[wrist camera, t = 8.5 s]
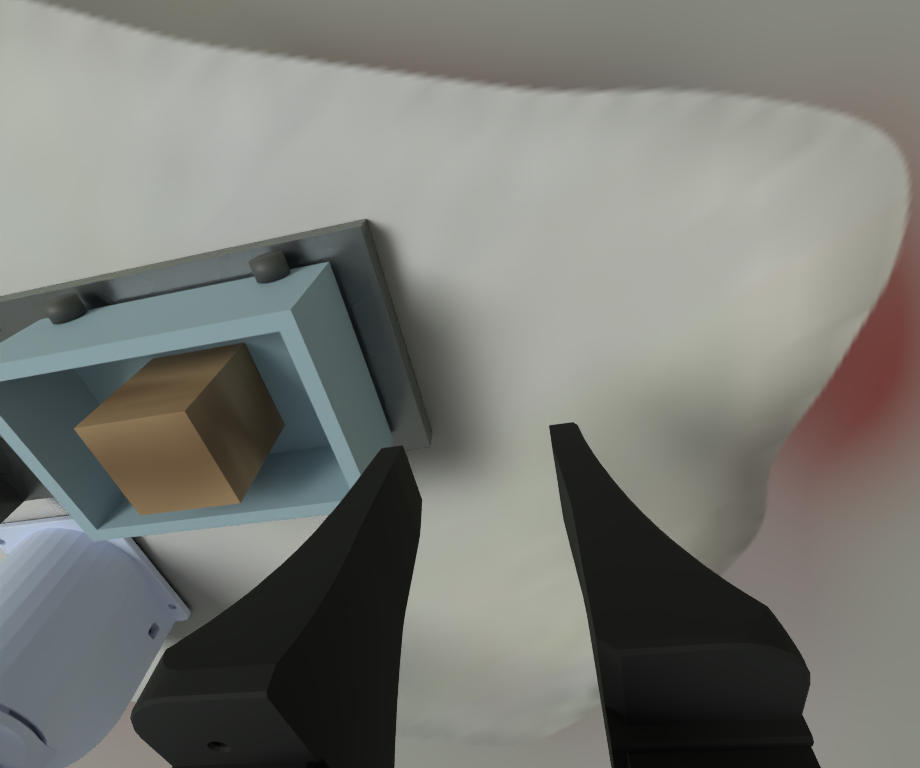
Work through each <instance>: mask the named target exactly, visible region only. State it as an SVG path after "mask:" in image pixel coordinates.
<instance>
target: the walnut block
mask: <svg viewBox="0 0 920 768" xmlns="http://www.w3.org/2000/svg"><path fill="white" fill-rule="evenodd" d="M284 426H285V424H284V422H283V420H282V418H281V416H280V414H279V411H278V409H277V407H276V405H275V403H274V401H273V399H272V397H271V395H270V393H269V391H268V389H267V387H266V385H265V383H264V381H263V379H262V377H261V375H260V373H259V371H258V369H257V367H256V365H255V363H254V361H253V359H252V357H251V354H250V352H249V350H248V348H247V346H246V344H245V342H244V343H239V344H233V345H227V346H222V347H216V348H210V349H205V350H199V351H193V352H188V353H182V354H176V355H171V356H165V357H159V358H154V359H152V360H150V361H149V362H148V363H147V364H146V365H145V366H144V367H143V368H141V369H140V370H139V371H138V372H137V373H136V374H135V375H133V376H132V377H131V378H130V379H129V380H128V381H127V382H126V383H124V384H123V385H122V386H121V387H120V388H119V389H118V390H117V391H115V392H114V393H113V394H112V395H111V396H110V397H109V398H107V399H106V400H105V401H104V402H103V403H102V404H101V405H100V406H98V407H97V408H96V409H95V410H94V411H93V412H92V413H91V414H89V415H88V416H87V417H86V418H85V419H84V420H83V421H81V422H80V423H79V424H78V425H77V426H76V427H75V428H74V430H75V431H76V432H77V434H78V435H79V436H80V438H81V439H82V440H83V441H84V443H85V444H86V445H87V447H88V448H89V449H90V451H91V452H92V453H93V455H94V456H95V457H96V458H97V460H98V461H99V462H100V464H101V465H102V466H103V468H104V469H105V470H106V472H107V473H108V474H109V475H110V477H111V478H112V479H113V481H114V482H115V483H116V485H117V486H118V487H119V489H120V490H121V491H122V492H123V494H124V495H125V496H126V498H127V499H128V500H129V502H130V503H131V504H132V506H133V507H134V508H135V509H136V511H137V512H138V513H139V515H148V514H157V513H165V512H173V511H181V510H190V509H198V508H206V507H214V506H223V505H231V504H239V503H241V502H242V500H243V498H244V497H245V495H246V493H247V491H248V490H249V488H250V486H251V484H252V482H253V481H254V479H255V477H256V475H257V474H258V472H259V470H260V468H261V467H262V465H263V463H264V461H265V460H266V458H267V456H268V454H269V453H270V451H271V449H272V447H273V446H274V444H275V442H276V440H277V439H278V437H279V435H280V433H281V431H282V430H283V428H284Z"/></svg>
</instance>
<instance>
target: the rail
mask: <svg viewBox="0 0 920 768" xmlns="http://www.w3.org/2000/svg"><path fill="white" fill-rule="evenodd" d="M272 251H282V252H283V254H284V257H285V259H286V262H287V264H288V266H289V269H295V268H300V267H305V266H310V265H315V264H320V263H325V262H329V263H330V265H331V268H332V271H333V274H334V276H335V279H336V282H337V285H338V287H339V290H340V293H341V296H342V299H343V301H344V304H345V307H346V310H347V312H348V315H349V318H350V321H351V323H352V326H353V329H354V332H355V335H356V337H357V340H358V343H359V346H360V348H361V351H362V354H363V357H364V359H365V362H366V365H367V368H368V371H369V373H370V376H371V379H372V382H373V384H374V387H375V390H376V393H377V396H378V398H379V401H380V404H381V407H382V409H383V412H384V415H385V418H386V420H387V423H388V426H389V429H390V432H391V434H392V437H393V443H392V447H394V446H401V445H403V447H404V450H410V449H418V448H425V447H430V444H431V438H432V431H431V427H430V424H429V421H428V418H427V414H426V411H425V408H424V405H423V401H422V398H421V395H420V392H419V388H418V385H417V382H416V379H415V375H414V372H413V369H412V366H411V362H410V359H409V356H408V353H407V349H406V346H405V343H404V340H403V336H402V333H401V330H400V327H399V323H398V320H397V317H396V314H395V310H394V307H393V304H392V301H391V297H390V294H389V291H388V288H387V284H386V281H385V278H384V275H383V271H382V268H381V265H380V262H379V258H378V255H377V252H376V249H375V245H374V242H373V239H372V236H371V232H370V229H369V226H368V223H367V219H363V220H358V221H354V222H349V223H344V224H339V225H335V226H330V227H325V228H321V229H316V230H311V231H306V232H302V233H297V234H292V235H288V236H283V237H278V238H273V239H269V240H264V241H259V242H255V243H250V244H245V245H240V246H236V247H231V248H226V249H222V250H217V251H212V252H208V253H203V254H198V255H193V256H189V257H184V258H179V259H175V260H170V261H165V262H160V263H156V264H151V265H146V266H142V267H137V268H132V269H127V270H123V271H118V272H113V273H109V274H104V275H99V276H94V277H90V278H85V279H80V280H76V281H71V282H66V283H61V284H57V285H52V286H47V287H43V288H38V289H33V290H28V291H24V292H19V293H14V294H10V295H5V296H0V343H1V342H2V341H4V340H6V339H8V338H9V337H11V336H13V335H15V334H16V333H18V332H20V331H21V330H23V329H25V328H27V327H28V326H30V325H32V324H33V323H35V322H37V321H39V320H40V319H45V318H48V316H47V315H46V313H45V312H44V311H43V309H42V308H41V305H42V304H43V303H45V302H47V301H49V300H51V299H54V298H57V297H59V296H62V295H66V294H70V293H76V294H77V295H78V297H79V298H80V300H81V301H82V303H83V304H84V306H85V307H86V309H87V310H90V309H95V308H100V307H105V306H110V305H115V304H120V303H125V302H130V301H135V300H140V299H145V298H150V297H155V296H160V295H165V294H170V293H175V292H180V291H185V290H190V289H195V288H200V287H205V286H210V285H215V284H220V283H225V282H230V281H235V280H240V279H245V278H250V277H254V275H253V272H252V270H251V268H250V266H249V263H248V262H249V260H251V259H252V258H254V257H256V256H259V255H261V254H264V253H268V252H272ZM50 497H54V496H53V495H52V494H51V493H50V492H49V490H48V489H47V488H46V487H45V486H44V485H43V484H42V482H41V481H40V480H39V479H38V478H37V477H36V475H35V474H34V473H33V472H32V471H31V470H30V469H29V467H28V466H27V465H26V464H25V463H24V462H23V460H22V459H21V458H20V457H19V456H18V455H17V454H16V452H15V451H14V450H13V449H12V448H11V447H10V446H9V444H8V443H7V442H6V441H5V440H4V439H3V437H2V436H1V435H0V524H1V523H2V522H3V521H4V520H5V519H6V518H7V517H8V516H9V515H10V514H11V513H12V512H13V511H14V510H15V509H16V508H17V507H19V506H20V505H21V504H22V503H23V502H24V501H27V500H35V499H42V498H50Z"/></svg>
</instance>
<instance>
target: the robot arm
mask: <svg viewBox="0 0 920 768" xmlns="http://www.w3.org/2000/svg"><path fill="white" fill-rule="evenodd" d="M549 428H550V435H551V442H552V448H553V455H554V461H555V468H556V474H557V481H558V487H559V493H560V500H561V506H562V513H563V519H564V523H565V527H566V531H567V535H568V539H569V543H570V547H571V551H572V555H573V559H574V563H575V566H576V570H577V574H578V578H579V582H580V586H581V590H582V594H583V598H584V603H585V607H586V612H587V618H588V624H589V630H590V636H591V642H592V649H593V655H594V661H595V667H596V673H597V680H598V686H599V692H600V698H601V705H602V711H603V717H604V723H605V729H606V736H607V742H608V748H609V754H610V761H611V767H612V768H821V767H820V765H819V763H818V761H817V759H816V756H815V754H814V752H813V750H812V748H811V746H813V743H814V741H813V737H812V734H811V732H810V730H809V728H808V726H807V724H806V721H805V719H804V717H803V715H802V713H803V709H804V706H805V701H806V698H807V694H808V691H809V686H810V672H809V670H808V668H807V666H806V664H805V661H804V659H803V657H802V655H801V654H800V652H799V650H798V649H797V647H796V645H795V644H794V642H793V641H792V639H791V638H790V636H789V635H788V633H787V632H786V630H785V629H784V628H783V626H782V625H781V623H780V622H779V621H778V619H777V618H776V617H775V615H774V614H773V613H772V611H771V610H770V609H769V608H768V607H767V606H766V605H764V604H762V603H761V602H759V601H758V600H756V599H754V598H753V597H751V596H749V595H748V594H746V593H744V592H743V591H741V590H740V589H738V588H736V587H735V586H733V585H732V584H730V583H729V582H727V581H726V580H724V579H723V578H722V577H720V576H719V575H717V574H716V573H714V572H713V571H712V570H710V569H709V568H707V567H706V566H705V565H703V564H702V563H701V562H699V561H698V560H697V559H696V558H694V557H693V556H692V555H690V554H689V553H688V552H687V551H685V550H684V549H683V548H682V547H680V546H679V545H678V544H677V543H675V542H674V541H673V540H672V539H670V538H669V537H668V536H667V535H666V534H665V533H664V532H663V531H661V530H660V529H659V528H658V527H657V526H656V525H655V524H654V523H653V522H652V521H651V520H650V519H649V518H648V517H646V516H645V515H644V514H643V513H642V512H641V511H640V510H639V509H638V508H637V507H636V505H635V504H634V503H633V502H632V501H631V500H630V499H629V498H628V497H627V496H626V494H625V493H624V492H623V491H622V490H621V489H620V488H619V487H618V485H617V484H616V483H615V482H614V480H613V479H612V478H611V477H610V475H609V474H608V473H607V471H606V470H605V469H604V467H603V466H602V465H601V464H600V462H599V461H598V459H597V458H596V457H595V455H594V454H593V452H592V450H591V449H590V447H589V446H588V444H587V443H586V441H585V439H584V437H583V435H582V433H581V431H580V429H579V427H578V425H577V424H575V423H574V422H572V423H564V424H557V425H549ZM421 511H422V498H421V496H420V493H419V490H418V487H417V484H416V481H415V478H414V476H413V473H412V470H411V467H410V464H409V461H408V459H407V456H406V453H405V450H404V447H403V445H401V446H394V447H386V448H381V449H380V451H379V452H378V453H377V454H376V456H375V457H374V458H373V460H372V461H371V462H370V464H369V465H368V466H367V468H366V469H365V470H364V472H363V473H362V474H361V476H360V477H359V478H358V480H357V481H356V482H355V484H354V485H353V486H352V488H351V489H350V490H349V492H348V493H347V494H346V495H345V497H344V498H343V499H342V500H341V502H340V503H339V504H338V505H337V507H336V508H335V509H334V510H333V511H332V512H331V514H330V515H329V516H328V517H327V518H326V519H325V521H324V522H323V523H322V524H321V525H320V527H319V528H318V529H317V530H316V531H315V532H314V533H313V534H312V535H311V536H310V537H309V538H308V540H307V541H306V542H305V543H304V544H303V545H302V546H301V547H300V548H299V549H298V550H297V551H296V552H295V553H294V554H292V555H291V556H290V557H289V558H288V559H287V560H286V561H285V562H284V563H283V564H282V565H281V566H280V567H278V568H277V569H276V570H275V571H274V572H273V573H271V574H270V575H269V576H268V577H267V578H266V579H264V580H263V581H262V582H261V583H260V584H259V585H258V586H256V587H255V588H254V589H253V590H251V591H250V592H249V593H248V594H246V595H245V596H244V597H243V598H241V599H240V600H239V601H237V602H236V603H235V604H233V605H232V606H231V607H229V608H228V609H227V610H225V611H224V612H222V613H221V614H220V615H218V616H217V617H215V618H214V619H213V620H211V621H210V622H208V623H207V624H205V625H204V626H202V627H201V628H199V629H198V630H196V631H194V632H193V633H191V634H190V635H188V636H187V637H185V638H184V639H182V640H181V641H179V642H178V643H176V644H174V645H173V646H171V647H170V648H168V649H166V651H165V652H164V654H163V656H162V657H161V659H160V661H159V663H158V665H157V666H156V668H155V670H154V672H153V674H152V675H151V677H150V679H149V681H148V683H147V684H146V686H145V688H144V690H143V692H142V693H141V695H140V697H139V699H138V701H137V703H136V704H135V706H134V708H133V710H132V713H131V717H130V718H131V721H132V724H133V727H134V730H135V732H136V733H137V734H138V735H139V736H140V737H141V738H142V739H143V740H144V741H145V742H146V743H147V744H148V745H149V746H150V747H152V748H153V749H154V750H155V751H156V752H157V753H158V754H160V755H161V756H162V757H163V758H164V759H165V760H166V761H167V762H169V763H170V764H171V765H172V766H173V767H172V768H394V762H395V736H396V715H397V697H398V682H399V668H400V656H401V645H402V633H403V625H404V618H405V611H406V606H407V601H408V596H409V590H410V585H411V580H412V575H413V570H414V565H415V559H416V554H417V549H418V543H419V537H420V528H421ZM0 549H1V550H2V551H3V552H4V553H5V554H6V555H7V556H6V557H5V558H4V559H3V560H2V561H1V562H0V768H64V767H66V766H68V765H70V764H72V763H74V762H76V761H77V760H79V759H81V758H82V757H83V756H85V755H86V754H87V753H89V752H90V751H91V750H92V749H93V748H94V747H95V746H96V745H97V744H99V743H100V742H101V741H102V740H103V739H104V738H105V737H106V736H107V734H108V733H109V732H110V731H111V730H112V729H113V727H114V726H115V725H116V723H117V722H118V721H119V719H120V718H121V716H122V715H123V713H124V711H125V710H126V708H127V706H128V705H129V703H130V701H131V699H132V697H133V696H134V694H135V692H136V690H137V689H138V687H139V685H140V683H141V682H142V680H143V678H144V676H145V674H146V673H147V671H148V669H149V667H150V666H151V664H152V662H153V660H154V659H155V657H156V655H157V653H158V651H159V650H160V648H161V646H162V644H163V643H164V641H165V639H166V637H167V636H168V634H169V632H170V630H171V628H172V627H173V625H174V623H175V621H184V620H187V619H188V618H189V616H190V614H191V612H190V610H189V609H188V608H187V606H186V605H185V604H184V603H183V601H182V600H181V599H180V598H179V596H178V595H177V594H176V593H175V591H174V590H173V589H172V588H171V586H170V585H169V584H168V583H167V581H166V580H165V579H164V578H163V576H162V575H161V574H160V573H159V572H158V570H157V569H156V568H155V567H154V565H153V564H152V563H151V562H150V560H149V559H148V558H147V557H146V555H145V554H144V553H143V552H142V550H141V549H140V548H139V547H138V545H137V544H136V543H135V542H134V540H133V539H132V538H131V537H128V538H119V539H111V540H102V541H92V540H91V539H90V538H89V537H88V535H87V534H86V533H85V532H84V531H83V530H82V528H81V527H80V526H79V525H78V524H77V523H76V522H75V520H74V519H73V518H72V517H71V516H70V515H69V516H61V517H53V518H45V519H37V520H29V521H21V522H13V523H5V524H0Z"/></svg>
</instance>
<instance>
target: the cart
mask: <svg viewBox="0 0 920 768" xmlns="http://www.w3.org/2000/svg"><path fill="white" fill-rule="evenodd" d="M248 263H249V266H250V268H251V270H252V272H253V275H254V277H250V278H245V279H240V280H235V281H230V282H225V283H220V284H215V285H210V286H205V287H200V288H195V289H190V290H185V291H180V292H175V293H170V294H165V295H160V296H155V297H150V298H145V299H140V300H135V301H130V302H125V303H120V304H115V305H110V306H105V307H100V308H95V309H90V310H87V309H86V307H85V306H84V304H83V303H82V301H81V300H80V298H79V297H78V295H77V294H76V293H70V294H66V295H62V296H59V297H57V298H54V299H51V300H49V301H47V302H45V303H43V304H42V305H41V308H42V309H43V311H44V312H45V313H46V315H47V316H48V318H45V319H40V320H39V321H37V322H35V323H33V324H32V325H30V326H28V327H27V328H25V329H23V330H21V331H20V332H18V333H16V334H15V335H13V336H11V337H9V338H8V339H6V340H4V341H2V342H1V343H0V435H1V436H2V437H3V439H4V440H5V441H6V442H7V443H8V444H9V446H10V447H11V448H12V449H13V450H14V451H15V452H16V454H17V455H18V456H19V457H20V458H21V459H22V460H23V462H24V463H25V464H26V465H27V466H28V467H29V469H30V470H31V471H32V472H33V473H34V474H35V475H36V477H37V478H38V479H39V480H40V481H41V482H42V484H43V485H44V486H45V487H46V488H47V489H48V490H49V492H50V493H51V494H52V495H53V496H54V497H55V499H56V500H57V501H58V502H59V503H60V504H61V505H62V507H63V508H64V509H65V510H66V511H67V512H68V513H69V515H70V516H71V517H72V518H73V519H74V520H75V522H76V523H77V524H78V525H79V526H80V527H81V528H82V530H83V531H84V532H85V533H86V534H87V535H88V537H89V538H90V539H91V540H92V541H102V540H111V539H119V538H128V537H137V536H145V535H154V534H163V533H172V532H180V531H189V530H198V529H206V528H215V527H224V526H232V525H241V524H250V523H259V522H267V521H276V520H285V519H293V518H302V517H311V516H320V515H328V514H331V512H332V511H333V510H334V509H335V508H336V507H337V505H338V504H339V503H340V502H341V500H342V499H343V498H344V497H345V495H346V494H347V493H348V492H349V490H350V489H351V488H352V486H353V485H354V484H355V482H356V481H357V480H358V478H359V477H360V476H361V474H362V473H363V472H364V470H365V469H366V468H367V466H368V465H369V464H370V462H371V461H372V460H373V458H374V457H375V456H376V454H377V453H378V452H379V451H380V449H381V448H386V447H392V443H393V437H392V434H391V432H390V429H389V426H388V423H387V420H386V418H385V415H384V412H383V409H382V407H381V404H380V401H379V398H378V396H377V393H376V390H375V387H374V384H373V382H372V379H371V376H370V373H369V371H368V368H367V365H366V362H365V359H364V357H363V354H362V351H361V348H360V346H359V343H358V340H357V337H356V335H355V332H354V329H353V326H352V323H351V321H350V318H349V315H348V312H347V310H346V307H345V304H344V301H343V299H342V296H341V293H340V290H339V287H338V285H337V282H336V279H335V276H334V274H333V271H332V268H331V265H330V263H329V262H325V263H320V264H315V265H310V266H305V267H300V268H295V269H289V266H288V264H287V262H286V259H285V257H284V254H283V252H282V251H272V252H268V253H264V254H261V255H259V256H256V257H254V258H252V259H251V260H249V262H248ZM244 342H245V344H246V346H247V348H248V350H249V352H250V354H251V357H252V359H253V361H254V363H255V365H256V367H257V369H258V371H259V373H260V375H261V377H262V379H263V381H264V383H265V385H266V387H267V389H268V391H269V393H270V395H271V397H272V399H273V401H274V403H275V405H276V407H277V409H278V411H279V414H280V416H281V418H282V420H283V422H284V424H285V426H284V428H283V430H282V431H281V433H280V435H279V437H278V439H277V440H276V442H275V444H274V446H273V447H272V449H271V451H270V453H269V454H268V456H267V458H266V460H265V461H264V463H263V465H262V467H261V468H260V470H259V472H258V474H257V475H256V477H255V479H254V481H253V482H252V484H251V486H250V488H249V490H248V491H247V493H246V495H245V497H244V498H243V500H242V502H241V503H239V504H231V505H223V506H214V507H206V508H198V509H190V510H181V511H173V512H165V513H157V514H148V515H139V513H138V512H137V511H136V509H135V508H134V507H133V506H132V504H131V503H130V502H129V500H128V499H127V498H126V496H125V495H124V494H123V492H122V491H121V490H120V489H119V487H118V486H117V485H116V483H115V482H114V481H113V479H112V478H111V477H110V475H109V474H108V473H107V472H106V470H105V469H104V468H103V466H102V465H101V464H100V462H99V461H98V460H97V458H96V457H95V456H94V455H93V453H92V452H91V451H90V449H89V448H88V447H87V445H86V444H85V443H84V441H83V440H82V439H81V438H80V436H79V435H78V434H77V432H76V431H75V430H74V428H75V427H76V426H77V425H78V424H79V423H80V422H81V421H83V420H84V419H85V418H86V417H87V416H88V415H89V414H91V413H92V412H93V411H94V410H95V409H96V408H97V407H98V406H100V405H101V404H102V403H103V402H104V401H105V400H106V399H107V398H109V397H110V396H111V395H112V394H113V393H114V392H115V391H117V390H118V389H119V388H120V387H121V386H122V385H123V384H124V383H126V382H127V381H128V380H129V379H130V378H131V377H132V376H133V375H135V374H136V373H137V372H138V371H139V370H140V369H141V368H143V367H144V366H145V365H146V364H147V363H148V362H149V361H150V360H152V359H154V358H159V357H165V356H171V355H176V354H182V353H188V352H193V351H199V350H205V349H210V348H216V347H222V346H227V345H233V344H239V343H244Z"/></svg>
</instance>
